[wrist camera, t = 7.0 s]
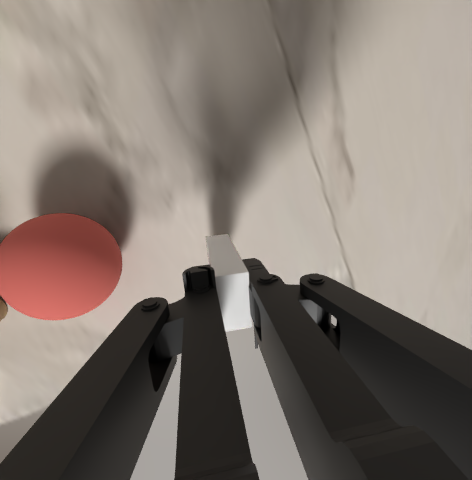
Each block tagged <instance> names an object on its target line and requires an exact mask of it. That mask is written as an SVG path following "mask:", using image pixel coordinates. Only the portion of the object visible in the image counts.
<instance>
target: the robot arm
mask: <svg viewBox="0 0 472 480" xmlns="http://www.w3.org/2000/svg"><path fill="white" fill-rule="evenodd" d="M206 245H207V254H208V262H209V265H203V266H195V267H191V268H189V269H187V270H185V271H184V272H183V274H182V275H183V282H184V289H185V297H184V298H183V299H181V300H179V301H177V302H175V303H172V304H169V305H168V302H167V300H166V299H164V298H160V297H155V298H152V297H151V298H148V299H144V300H143V301H141V302H139V303H137V304H136V305H135V306H134V307H133V308H132V309H131V310H130V311H129V313H128V314H127V315H126V316H125V317H124V319H123V320H122V321H121V322H120V323H119V324H118V326H117V327H116V328H115V329H114V330H113V332H112V333H111V334H110V335H109V336H108V337H107V339H106V340H105V341H104V342H103V343H102V344H101V346H100V347H99V348H98V349H97V350H96V352H95V353H94V354H93V355H92V356H91V357H90V359H89V360H88V361H87V362H86V363H85V365H84V366H83V367H82V368H81V369H80V370H79V372H78V373H77V374H76V375H75V376H74V377H73V379H72V380H71V381H70V382H69V383H68V385H67V386H66V387H65V388H64V389H63V390H62V392H61V393H60V394H59V395H58V396H57V398H56V399H55V400H54V401H53V402H52V403H51V405H50V406H49V407H48V408H47V409H46V410H45V412H44V413H43V414H42V415H41V417H40V418H39V419H38V420H37V421H36V422H35V423H34V425H33V426H32V427H31V428H30V429H29V431H28V432H27V433H26V434H25V435H24V436H23V438H22V439H21V440H20V441H19V442H18V444H17V445H16V446H15V447H14V448H13V449H12V451H11V452H10V453H9V454H8V455H7V457H6V458H5V459H4V460H3V461H2V462H1V464H0V480H130V478H131V475H132V473H133V470H134V468H135V465H136V463H137V460H138V458H139V455H140V453H141V450H142V448H143V445H144V442H145V440H146V438H147V435H148V432H149V430H150V427H151V425H152V422H153V420H154V417H155V415H156V412H157V410H158V407H159V405H160V402H161V400H162V397H163V395H164V392H165V390H166V387H167V385H168V382H169V379H170V377H171V374H172V372H173V369H174V366H175V364H176V362H177V355H178V354H180V353H182V356H181V375H180V394H179V413H178V430H177V449H176V468H175V479H174V480H259V477H258V472H257V469H256V466H255V464H254V463H253V462H252V458H251V454H250V449H249V444H248V439H247V434H246V429H245V424H244V419H243V415H242V410H241V405H240V400H239V395H238V390H237V386H236V381H235V376H234V371H233V366H232V361H231V357H230V352H229V347H228V342H227V337H226V333H225V332H226V331H232V330H238V329H244V328H251V327H252V319H253V322H254V334H255V348H258V345H259V347H260V350H261V353H262V355H263V358H264V361H265V363H266V366H267V368H268V371H269V374H270V377H271V380H272V382H273V385H274V388H275V390H276V393H277V395H278V398H279V401H280V404H281V407H282V409H283V412H284V414H285V417H286V420H287V423H288V425H289V428H290V431H291V434H292V436H293V439H294V442H295V444H296V447H297V450H298V452H299V455H300V458H301V460H302V463H303V466H304V469H305V471H306V474H307V477H308V479H309V480H472V350H470V349H468V348H466V347H464V346H462V345H461V344H459V343H457V342H455V341H453V340H451V339H449V338H447V337H445V336H443V335H441V334H439V333H437V332H435V331H433V330H431V329H429V328H427V327H425V326H423V325H421V324H419V323H417V322H415V321H413V320H412V319H410V318H408V317H406V316H404V315H402V314H400V313H398V312H396V311H394V310H392V309H390V308H388V307H386V306H384V305H382V304H380V303H378V302H376V301H374V300H372V299H370V298H368V297H366V296H364V295H362V294H361V293H359V292H357V291H355V290H353V289H351V288H349V287H347V286H345V285H343V284H341V283H339V282H337V281H335V280H333V279H331V278H329V277H327V276H324V275H319V274H308V275H304V276H302V277H301V278H300V285H288V284H285V283H284V282H283V281H282V279H281V278H280V277H278V276H276V275H273V274H269V272H268V271H267V270H266V268H265V267H264V265H263V264H262V263H261V261H259V260H257V259H255V258H251V259H243V260H242V259H241V257H240V255H239V254H238V252H237V250H236V248H235V246H234V244H233V242H232V241H231V239H230V237H229V235H228V234H223V235H214V236H206ZM331 315H333V316H334V317H335V318H336V319H337V325H336V326H334V325H333V324H332V323H331ZM251 317H252V318H251Z"/></svg>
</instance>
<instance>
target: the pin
mask: <svg viewBox="0 0 472 480" xmlns="http://www.w3.org/2000/svg"><path fill="white" fill-rule="evenodd" d="M6 314H7V306H6V304H5V303H4V301H3V300H1V299H0V321H1V320H2V319H3V318H4V317H5V316H6Z"/></svg>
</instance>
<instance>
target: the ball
mask: <svg viewBox="0 0 472 480" xmlns="http://www.w3.org/2000/svg"><path fill="white" fill-rule="evenodd" d="M121 271H122V256H121V252H120V248H119V246H118V244H117V242H116V240H115V239H114V237H113V236H112V235H111V233H110V232H108V231H107V230H106V229H105V228H104V227H103V226H102V225H100V224H99V223H97V222H95V221H93V220H91V219H89V218H86V217H83V216H80V215H75V214H68V213H55V214H47V215H42V216H39V217H36V218H33V219H30V220H28V221H26V222H24V223H22V224H21V225H19V226H18V227H16V228H15V229H14V230H12V231H11V232H10V233H9V234H8V235H7V236H6V237H5V238H4V240H3V241H2V242H1V244H0V295H1V297H2V298H3V299H4V300H5V301H6V302H7V303H8V304H9V305H10V306H11V307H13V308H14V309H16V310H17V311H19V312H21V313H23V314H25V315H27V316H30V317H34V318H38V319H43V320H64V319H69V318H74V317H77V316H80V315H83V314H85V313H87V312H89V311H91V310H93V309H95V308H96V307H98V306H99V305H100V304H102V303H103V302H104V301H105V300H106V299H107V298H108V297H109V296H110V295H111V293H112V292H113V291H114V289H115V287H116V286H117V284H118V281H119V279H120V276H121Z"/></svg>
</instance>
